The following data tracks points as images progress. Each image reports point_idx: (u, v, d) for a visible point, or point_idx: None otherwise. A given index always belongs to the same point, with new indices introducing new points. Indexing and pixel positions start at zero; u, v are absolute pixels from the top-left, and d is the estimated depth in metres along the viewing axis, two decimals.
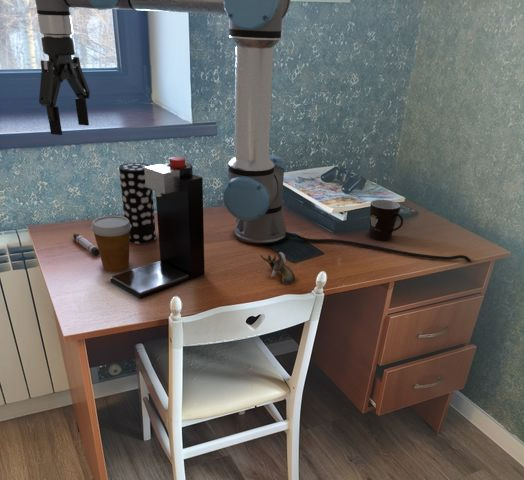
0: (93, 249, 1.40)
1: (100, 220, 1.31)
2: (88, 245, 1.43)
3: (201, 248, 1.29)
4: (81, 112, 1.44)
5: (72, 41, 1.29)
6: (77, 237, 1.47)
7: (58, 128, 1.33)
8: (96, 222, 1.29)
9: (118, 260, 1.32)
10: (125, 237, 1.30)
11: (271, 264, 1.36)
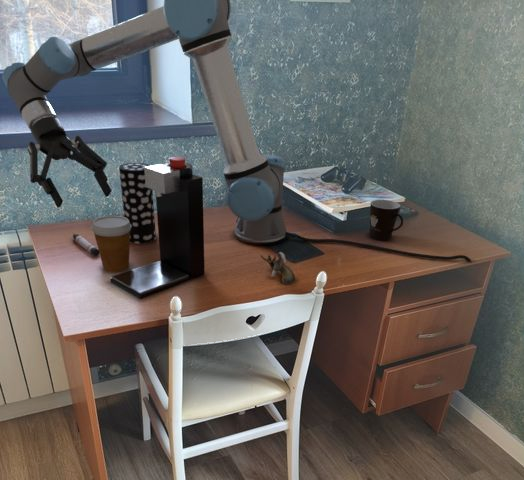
0: (92, 249, 1.40)
1: (100, 220, 1.31)
2: (87, 245, 1.42)
3: (201, 248, 1.29)
4: (101, 183, 1.38)
5: (50, 118, 1.31)
6: (77, 237, 1.47)
7: (56, 196, 1.28)
8: (96, 222, 1.29)
9: (118, 260, 1.32)
10: (125, 237, 1.30)
11: (271, 264, 1.36)
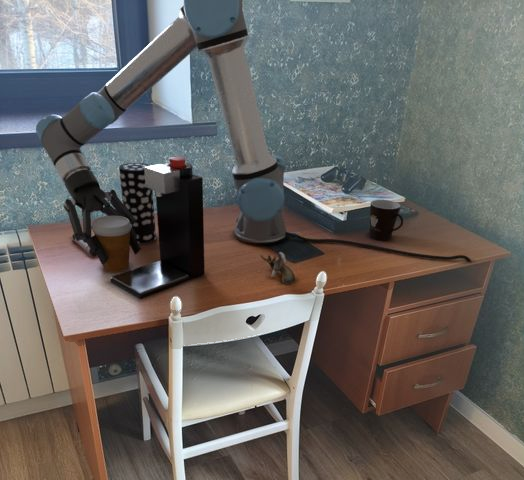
0: None
1: (100, 220, 1.31)
2: (86, 245, 1.42)
3: (201, 248, 1.29)
4: (130, 240, 1.35)
5: (85, 171, 1.29)
6: None
7: (102, 254, 1.28)
8: (96, 222, 1.29)
9: (118, 260, 1.32)
10: (125, 237, 1.30)
11: (271, 264, 1.36)
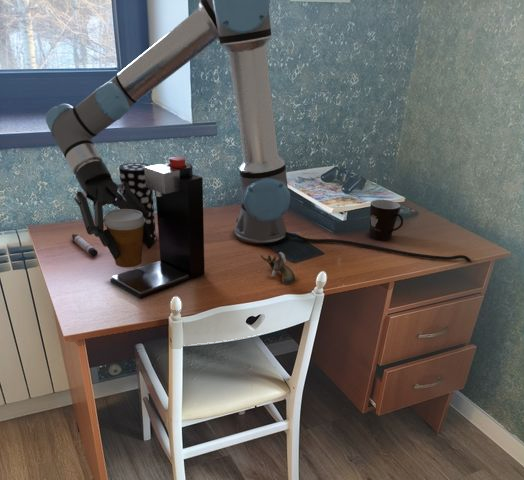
0: (90, 250, 1.40)
1: (113, 213, 1.26)
2: (86, 245, 1.42)
3: (201, 248, 1.29)
4: (143, 235, 1.30)
5: (97, 163, 1.24)
6: (75, 237, 1.47)
7: (114, 249, 1.23)
8: (108, 215, 1.24)
9: (131, 255, 1.27)
10: (139, 231, 1.25)
11: (271, 264, 1.36)
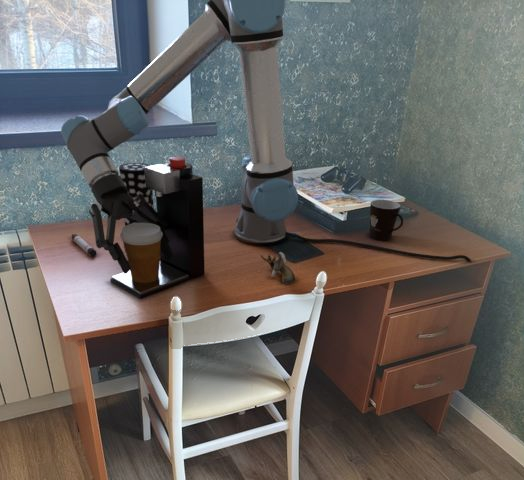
0: (89, 250, 1.40)
1: (129, 227, 1.23)
2: (85, 245, 1.42)
3: (201, 248, 1.29)
4: (162, 246, 1.27)
5: (113, 176, 1.22)
6: (75, 237, 1.47)
7: (124, 263, 1.19)
8: (125, 230, 1.22)
9: (148, 270, 1.24)
10: (156, 246, 1.22)
11: (271, 264, 1.36)
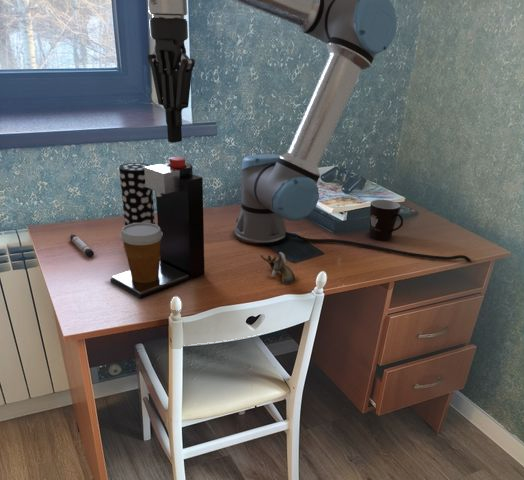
0: (87, 251, 1.40)
1: (129, 227, 1.23)
2: (82, 246, 1.42)
3: (201, 248, 1.29)
4: None
5: None
6: (73, 238, 1.47)
7: (180, 134, 1.18)
8: (125, 230, 1.22)
9: (148, 270, 1.24)
10: (156, 246, 1.22)
11: (271, 264, 1.36)
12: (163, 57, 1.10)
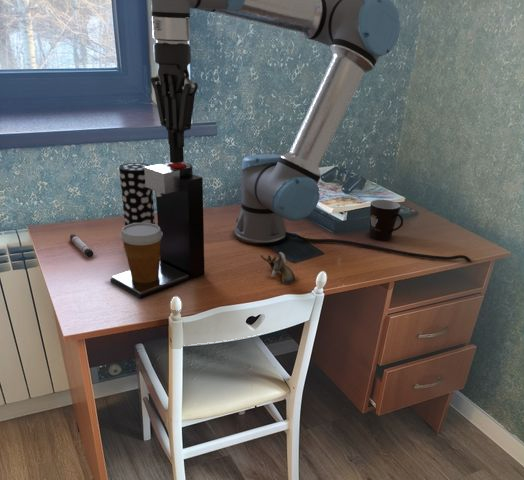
0: (86, 250, 1.40)
1: (129, 227, 1.23)
2: (82, 246, 1.42)
3: (201, 248, 1.29)
4: None
5: None
6: (73, 238, 1.46)
7: (182, 154, 1.21)
8: (125, 230, 1.22)
9: (148, 270, 1.24)
10: (156, 246, 1.22)
11: (271, 264, 1.36)
12: (166, 81, 1.12)
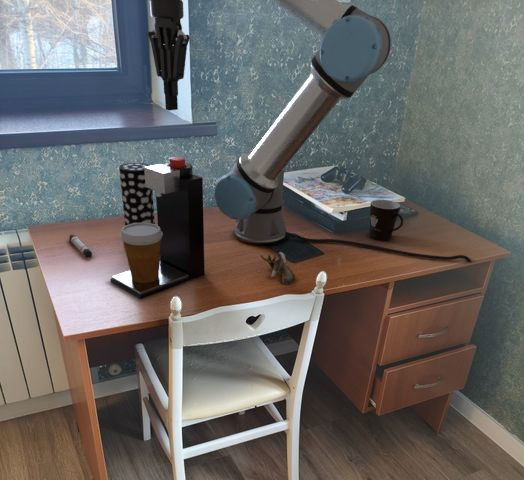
0: (85, 251, 1.39)
1: (129, 227, 1.23)
2: (81, 246, 1.41)
3: (201, 248, 1.29)
4: None
5: None
6: (72, 238, 1.46)
7: (176, 103, 1.34)
8: (125, 230, 1.22)
9: (148, 270, 1.24)
10: (156, 246, 1.22)
11: (271, 264, 1.36)
12: (162, 33, 1.26)
